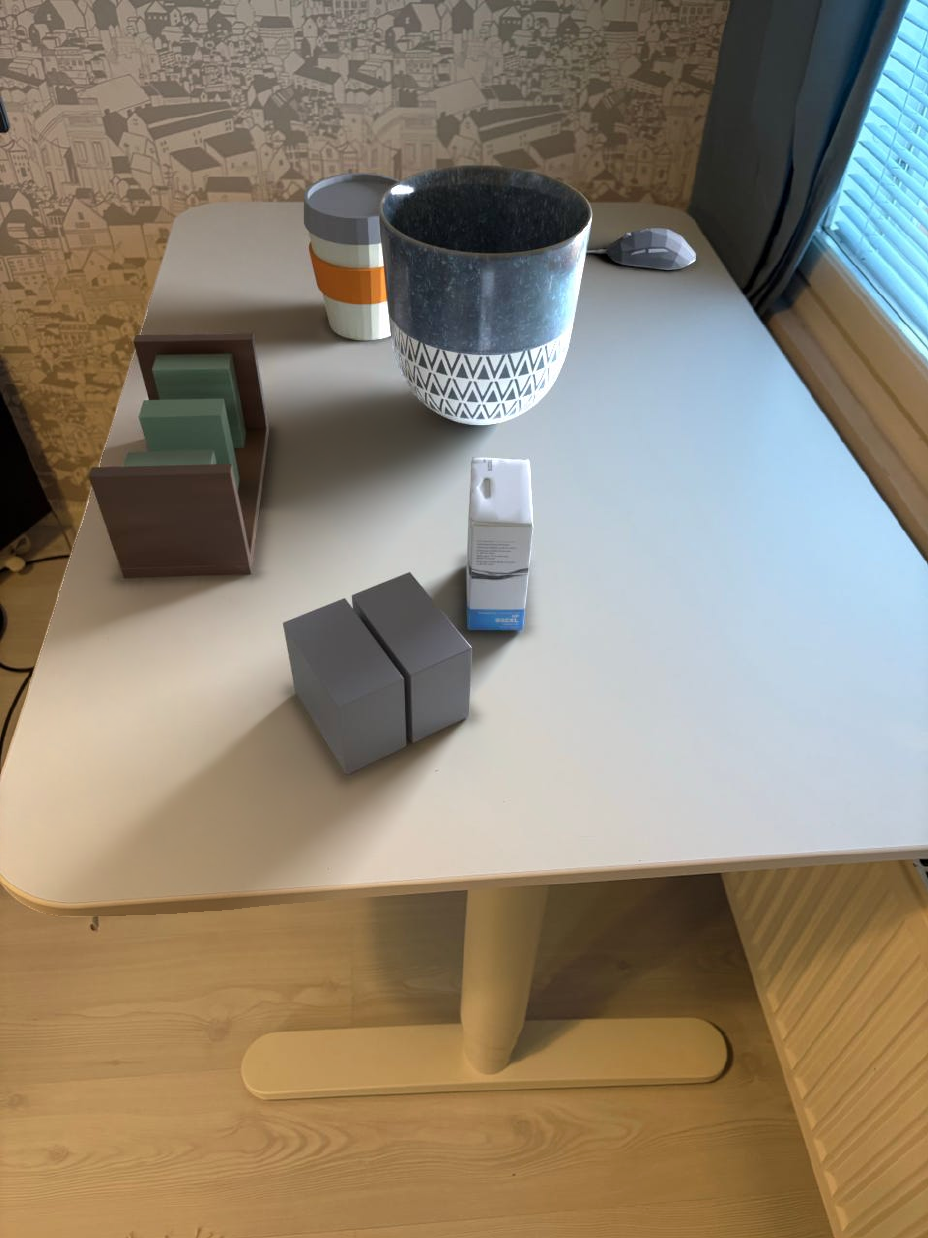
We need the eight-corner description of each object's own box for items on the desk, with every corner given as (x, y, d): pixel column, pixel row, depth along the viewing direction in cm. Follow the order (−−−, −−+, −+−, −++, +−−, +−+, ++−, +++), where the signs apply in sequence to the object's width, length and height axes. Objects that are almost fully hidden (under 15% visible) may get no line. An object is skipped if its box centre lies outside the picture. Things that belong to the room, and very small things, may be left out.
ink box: (524, 632, 76) (535, 525, 68) (465, 631, 76) (468, 524, 68) (520, 562, 82) (531, 456, 73) (466, 560, 82) (470, 454, 73)
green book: (237, 496, 85) (220, 415, 79) (161, 498, 85) (138, 416, 78) (239, 478, 87) (224, 398, 81) (165, 480, 87) (143, 399, 80)
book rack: (251, 574, 80) (230, 472, 72) (123, 578, 79) (87, 476, 71) (269, 431, 95) (253, 332, 86) (161, 433, 94) (135, 334, 86)
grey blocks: (346, 775, 66) (338, 708, 60) (294, 691, 71) (282, 622, 65) (469, 716, 70) (472, 647, 64) (411, 641, 75) (409, 571, 69)
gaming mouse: (586, 242, 126) (589, 213, 123) (693, 252, 125) (699, 223, 122) (583, 263, 122) (586, 233, 119) (694, 273, 121) (701, 244, 118)
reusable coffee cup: (333, 357, 105) (322, 226, 94) (300, 306, 112) (286, 181, 101) (434, 336, 108) (434, 208, 97) (395, 288, 116) (391, 165, 105)
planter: (602, 429, 96) (635, 227, 81) (440, 482, 89) (441, 273, 74) (507, 343, 108) (520, 151, 92) (357, 384, 101) (343, 185, 85)
